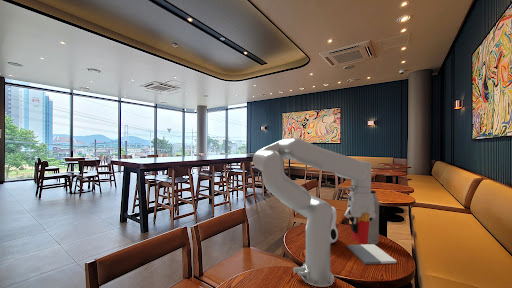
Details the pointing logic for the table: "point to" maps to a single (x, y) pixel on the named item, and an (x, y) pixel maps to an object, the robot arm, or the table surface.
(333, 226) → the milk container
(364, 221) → the french fries
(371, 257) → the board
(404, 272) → the table surface
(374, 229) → the thermos bottle
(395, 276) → the table surface
